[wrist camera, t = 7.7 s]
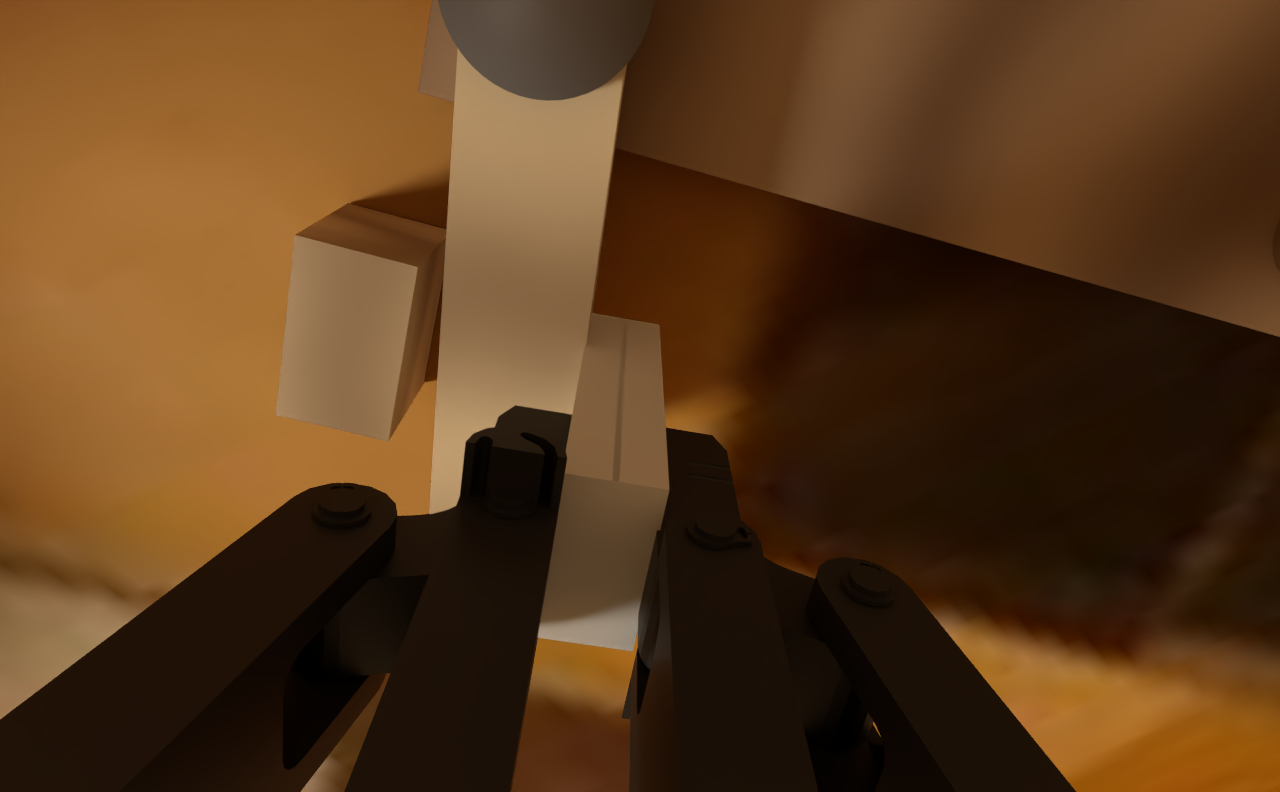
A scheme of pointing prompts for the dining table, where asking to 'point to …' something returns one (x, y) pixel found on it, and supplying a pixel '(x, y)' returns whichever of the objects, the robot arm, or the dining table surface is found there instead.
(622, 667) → the dining table surface
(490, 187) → the hinged leg
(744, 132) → the stool panel
